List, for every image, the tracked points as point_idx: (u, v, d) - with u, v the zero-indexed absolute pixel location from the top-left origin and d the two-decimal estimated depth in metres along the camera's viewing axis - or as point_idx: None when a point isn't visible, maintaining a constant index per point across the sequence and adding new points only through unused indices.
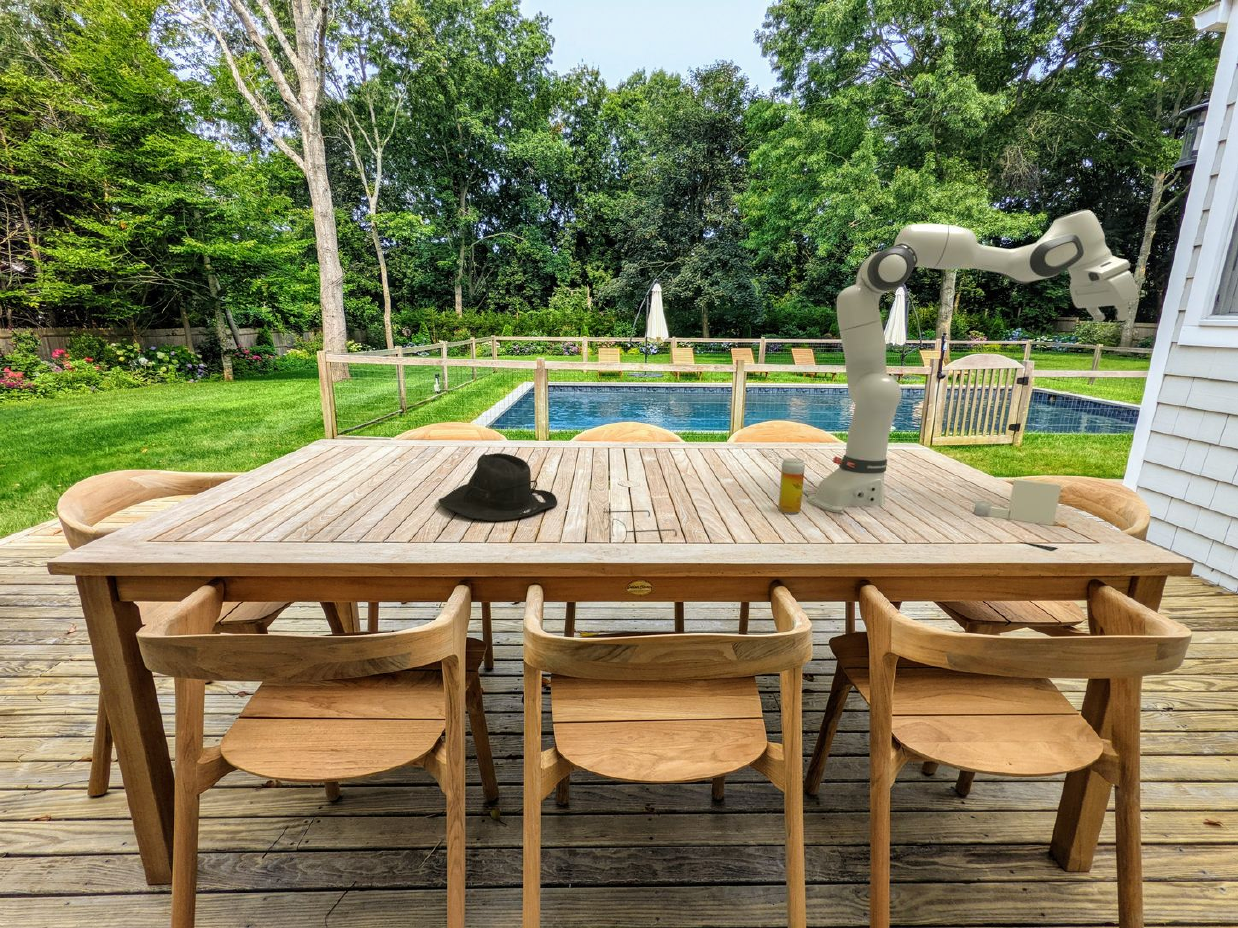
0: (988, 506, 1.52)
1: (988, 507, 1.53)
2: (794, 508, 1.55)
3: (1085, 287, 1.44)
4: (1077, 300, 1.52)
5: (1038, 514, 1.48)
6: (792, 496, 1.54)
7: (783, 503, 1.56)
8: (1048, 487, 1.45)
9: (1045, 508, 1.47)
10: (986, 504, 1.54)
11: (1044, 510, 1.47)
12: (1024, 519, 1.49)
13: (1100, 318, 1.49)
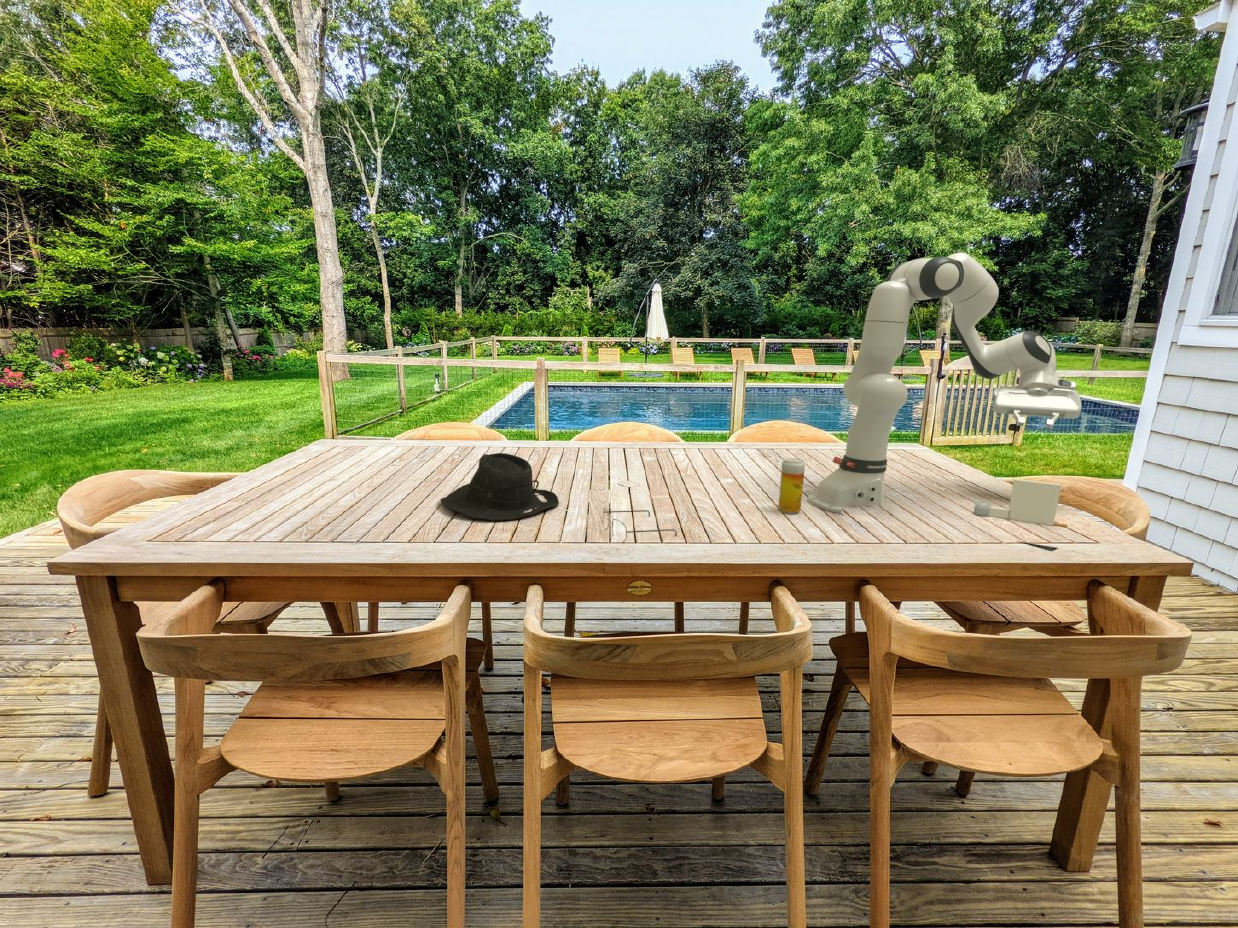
0: (988, 506, 1.52)
1: (988, 507, 1.53)
2: (794, 508, 1.55)
3: (1041, 389, 1.58)
4: (1004, 400, 1.62)
5: (1038, 514, 1.48)
6: (792, 496, 1.54)
7: (783, 503, 1.56)
8: (1048, 487, 1.45)
9: (1045, 508, 1.47)
10: (986, 504, 1.54)
11: (1044, 510, 1.47)
12: (1024, 519, 1.49)
13: None
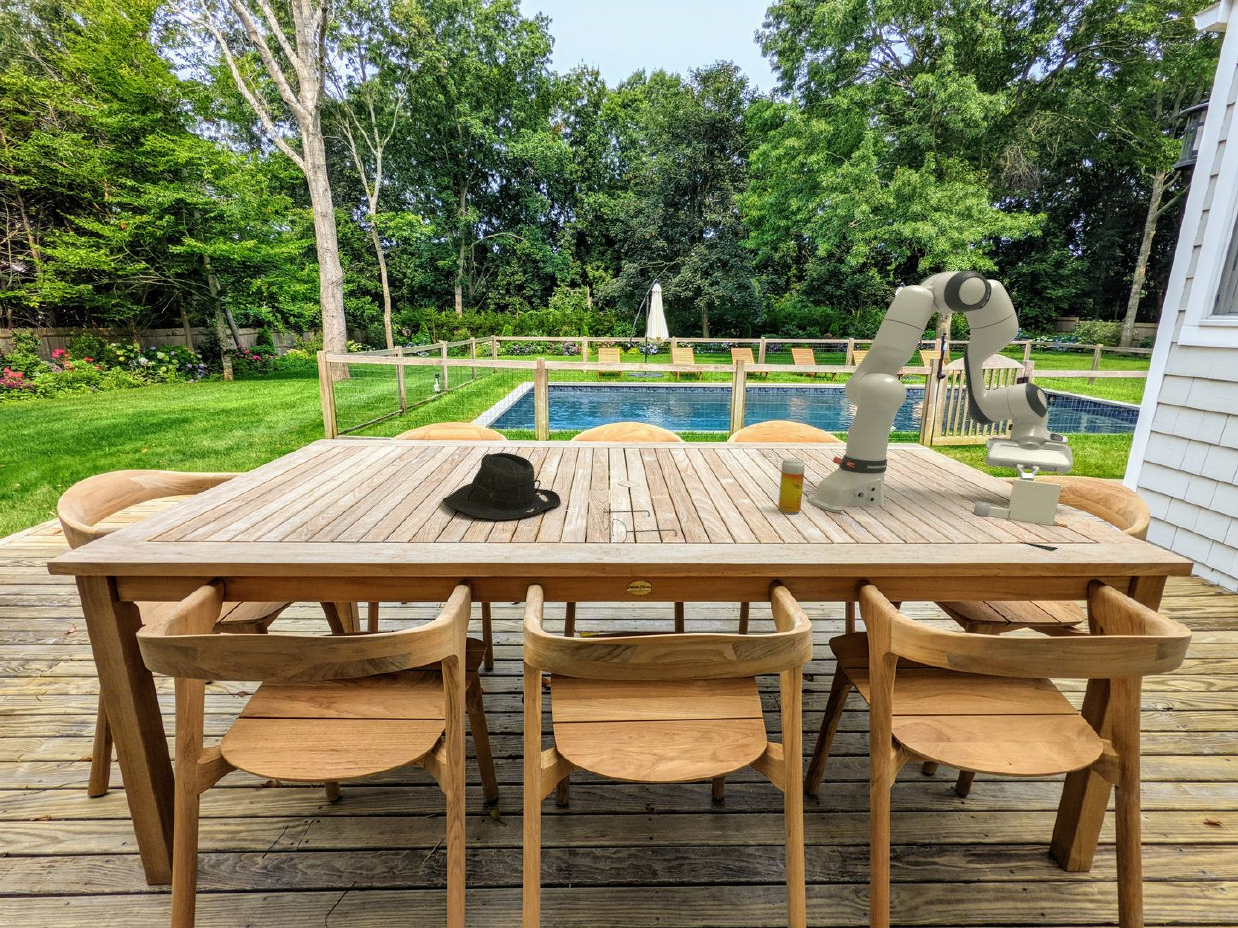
0: (988, 506, 1.52)
1: (988, 507, 1.53)
2: (794, 508, 1.55)
3: (1033, 442, 1.58)
4: (996, 453, 1.62)
5: (1038, 514, 1.48)
6: (792, 496, 1.54)
7: (783, 503, 1.56)
8: (1048, 487, 1.45)
9: (1045, 508, 1.47)
10: (986, 504, 1.54)
11: (1044, 510, 1.47)
12: (1024, 519, 1.49)
13: None
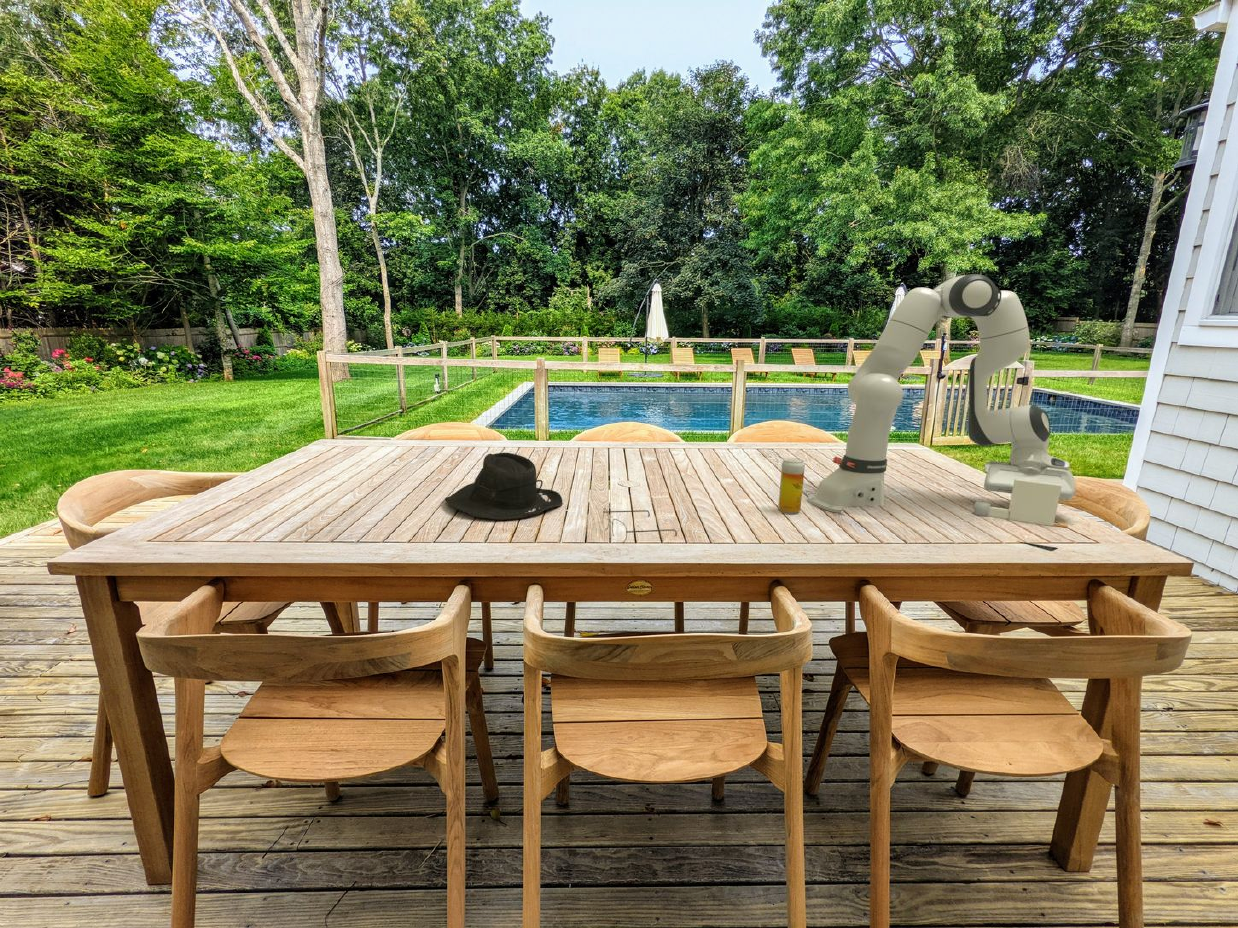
0: (988, 506, 1.52)
1: (988, 507, 1.53)
2: (794, 508, 1.55)
3: (1033, 468, 1.52)
4: (995, 478, 1.55)
5: (1038, 514, 1.47)
6: (792, 496, 1.54)
7: (783, 503, 1.56)
8: (1048, 488, 1.45)
9: (1045, 509, 1.46)
10: (986, 504, 1.53)
11: (1044, 510, 1.46)
12: (1024, 520, 1.49)
13: None
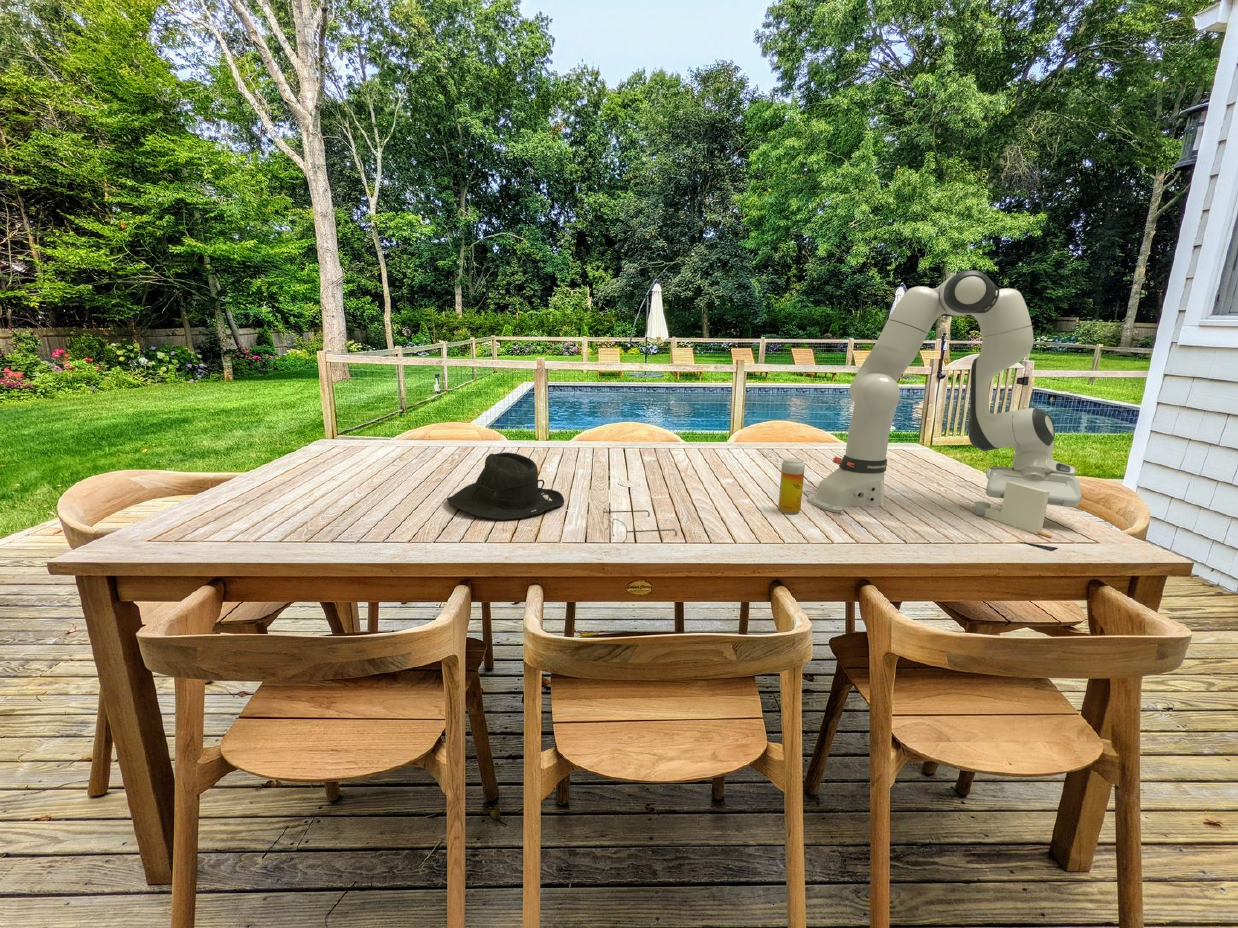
0: (983, 506, 1.53)
1: (983, 507, 1.53)
2: (794, 508, 1.55)
3: (1037, 473, 1.46)
4: (998, 483, 1.49)
5: (1024, 520, 1.42)
6: (792, 496, 1.54)
7: (783, 503, 1.56)
8: (1034, 493, 1.40)
9: (1030, 514, 1.41)
10: (984, 504, 1.53)
11: (1029, 516, 1.41)
12: (1012, 524, 1.46)
13: None
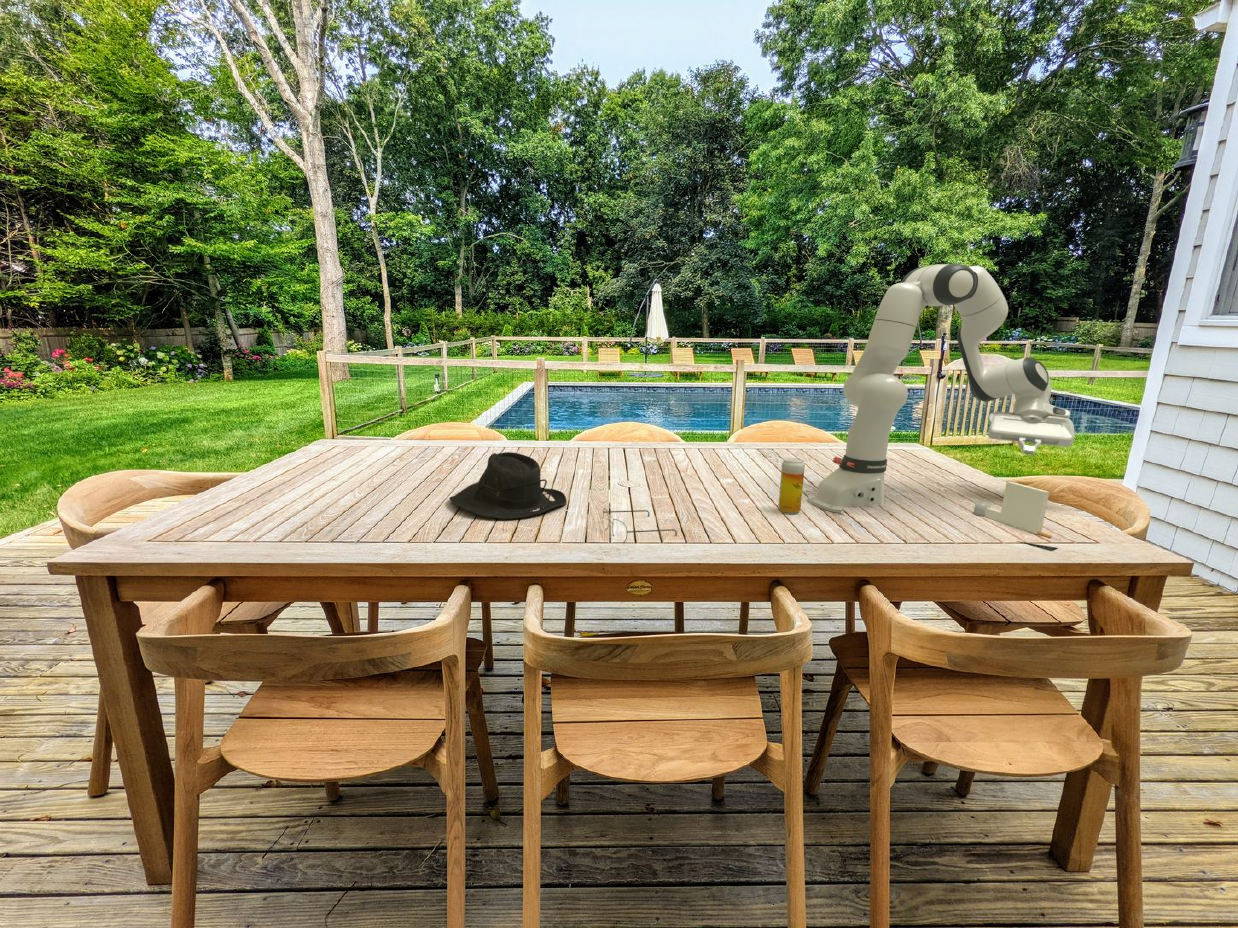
0: (983, 506, 1.53)
1: (983, 507, 1.53)
2: (794, 508, 1.55)
3: (1036, 416, 1.60)
4: (999, 426, 1.63)
5: (1024, 520, 1.42)
6: (792, 496, 1.54)
7: (783, 503, 1.56)
8: (1034, 493, 1.40)
9: (1030, 514, 1.41)
10: (984, 504, 1.53)
11: (1029, 516, 1.41)
12: (1012, 524, 1.46)
13: None
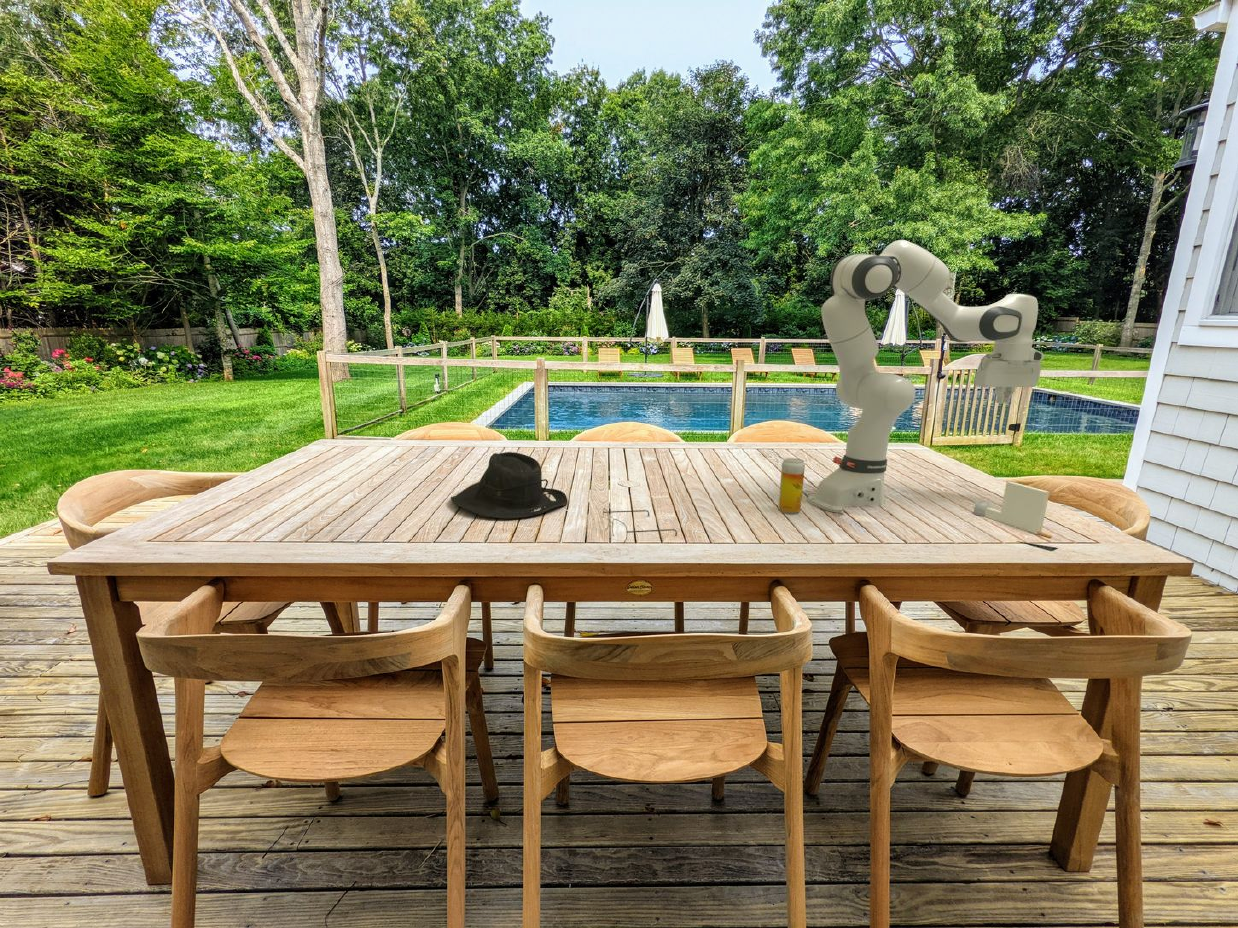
0: (983, 506, 1.53)
1: (983, 507, 1.53)
2: (794, 508, 1.55)
3: (1021, 365, 1.55)
4: (992, 378, 1.54)
5: (1024, 520, 1.42)
6: (792, 496, 1.54)
7: (783, 503, 1.56)
8: (1034, 493, 1.40)
9: (1030, 514, 1.41)
10: (984, 504, 1.53)
11: (1029, 516, 1.41)
12: (1012, 524, 1.46)
13: None
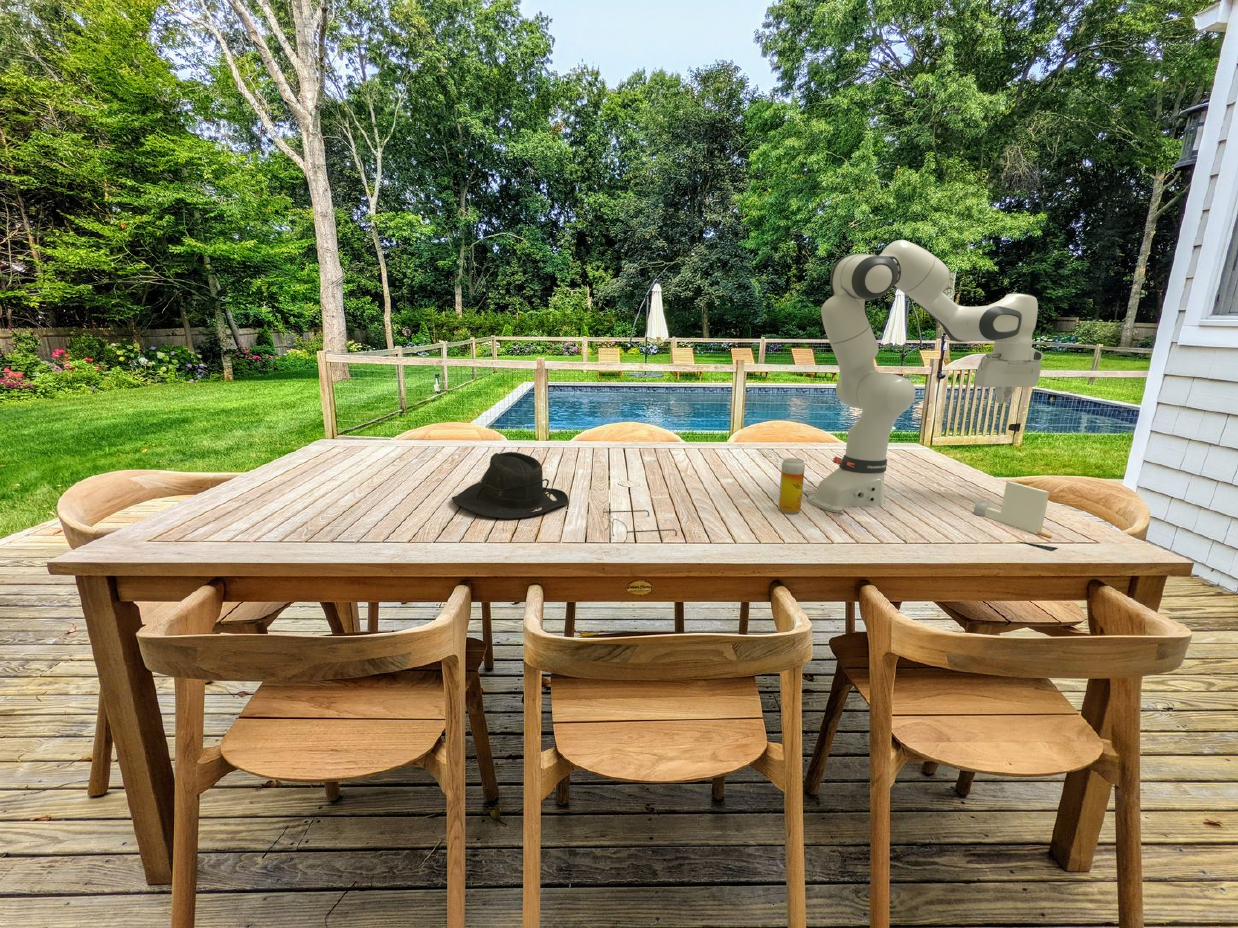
0: (983, 506, 1.53)
1: (983, 507, 1.53)
2: (794, 508, 1.55)
3: (1021, 365, 1.55)
4: (992, 378, 1.54)
5: (1024, 520, 1.42)
6: (792, 496, 1.54)
7: (783, 503, 1.56)
8: (1034, 493, 1.40)
9: (1030, 514, 1.41)
10: (984, 504, 1.53)
11: (1029, 516, 1.41)
12: (1012, 524, 1.46)
13: None
